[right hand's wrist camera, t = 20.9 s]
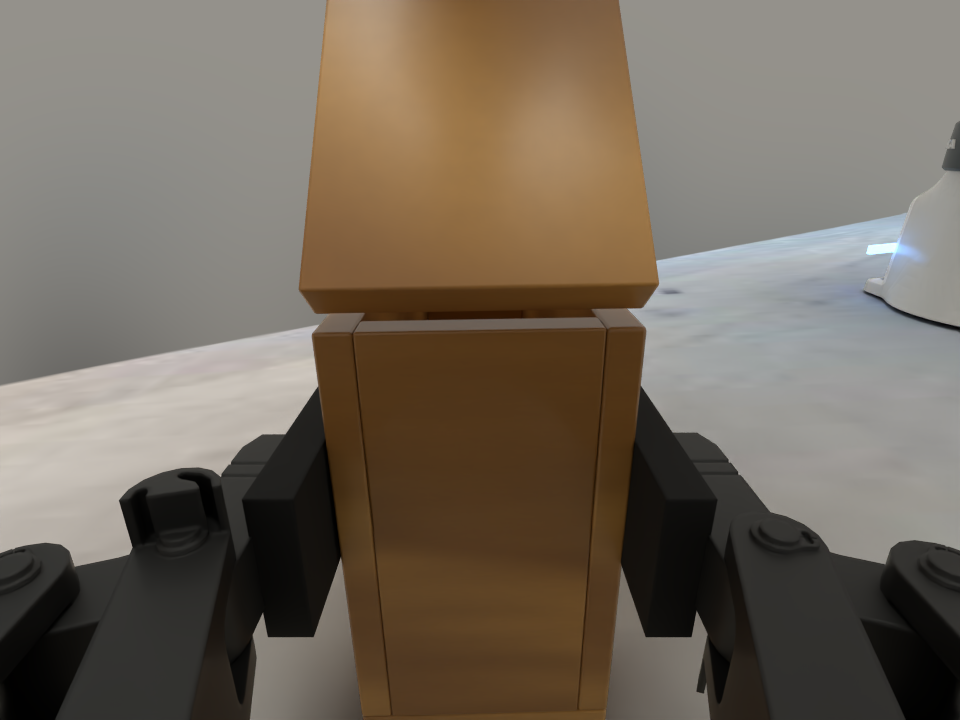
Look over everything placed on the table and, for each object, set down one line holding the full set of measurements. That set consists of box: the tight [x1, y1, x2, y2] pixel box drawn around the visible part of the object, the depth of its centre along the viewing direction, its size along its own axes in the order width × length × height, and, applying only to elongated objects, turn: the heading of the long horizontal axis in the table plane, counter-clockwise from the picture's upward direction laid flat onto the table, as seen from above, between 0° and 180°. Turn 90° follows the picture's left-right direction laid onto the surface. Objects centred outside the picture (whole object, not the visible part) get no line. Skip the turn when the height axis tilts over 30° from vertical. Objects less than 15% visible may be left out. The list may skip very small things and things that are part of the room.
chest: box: [312, 308, 646, 720], centre depth 17 cm, size 15×5×10 cm, turn 1°
